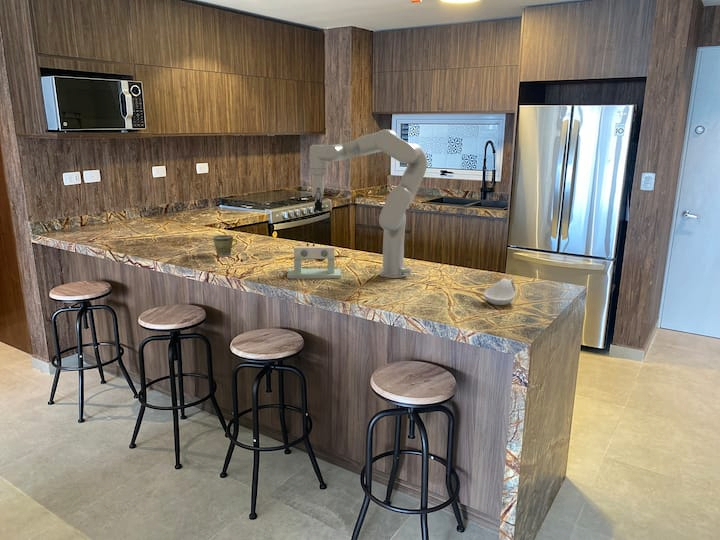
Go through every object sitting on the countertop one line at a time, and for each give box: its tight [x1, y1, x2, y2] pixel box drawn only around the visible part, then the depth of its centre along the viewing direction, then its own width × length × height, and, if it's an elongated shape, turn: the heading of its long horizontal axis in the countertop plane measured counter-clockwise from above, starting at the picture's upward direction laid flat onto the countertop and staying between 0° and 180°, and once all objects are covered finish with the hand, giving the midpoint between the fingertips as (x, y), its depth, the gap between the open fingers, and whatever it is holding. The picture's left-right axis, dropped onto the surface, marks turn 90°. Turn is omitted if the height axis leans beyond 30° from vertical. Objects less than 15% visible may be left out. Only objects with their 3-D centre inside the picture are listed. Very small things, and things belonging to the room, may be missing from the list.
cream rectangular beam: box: [293, 245, 335, 260], centre depth 247 cm, size 18×4×5 cm, turn 93°
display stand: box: [286, 256, 342, 279], centre depth 248 cm, size 24×12×9 cm, turn 93°
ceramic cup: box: [212, 234, 238, 258], centre depth 283 cm, size 13×10×10 cm
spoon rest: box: [483, 278, 516, 306], centre depth 217 cm, size 24×12×7 cm, turn 153°
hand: (318, 209), depth 255 cm, fingers open, 9 cm apart
